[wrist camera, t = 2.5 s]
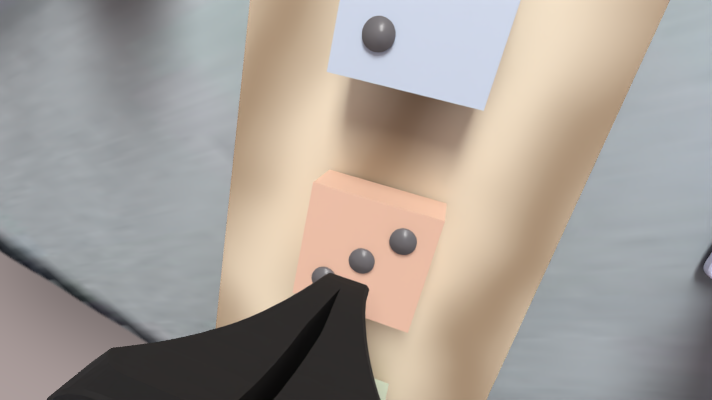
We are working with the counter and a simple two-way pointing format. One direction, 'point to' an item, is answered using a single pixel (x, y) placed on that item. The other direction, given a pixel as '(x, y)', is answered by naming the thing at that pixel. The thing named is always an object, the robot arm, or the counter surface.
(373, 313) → the tile three
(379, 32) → the tile two
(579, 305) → the counter surface
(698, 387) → the counter surface
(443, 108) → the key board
